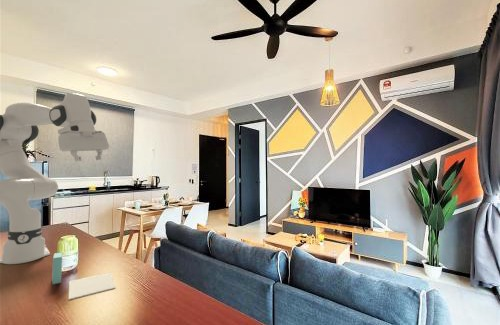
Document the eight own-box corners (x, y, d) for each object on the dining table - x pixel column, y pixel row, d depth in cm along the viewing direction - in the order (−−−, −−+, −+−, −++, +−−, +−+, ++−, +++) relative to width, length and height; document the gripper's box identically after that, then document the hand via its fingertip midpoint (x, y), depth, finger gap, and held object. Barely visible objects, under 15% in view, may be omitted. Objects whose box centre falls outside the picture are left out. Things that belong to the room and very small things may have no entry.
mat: (69, 282, 93) (69, 281, 93) (110, 273, 101) (110, 272, 101) (68, 300, 81) (68, 298, 81) (115, 288, 89) (115, 287, 89)
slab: (52, 278, 96) (53, 253, 96) (61, 276, 97) (62, 252, 98) (51, 284, 91) (52, 258, 91) (60, 282, 93) (61, 256, 93)
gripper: (99, 132, 116) (105, 160, 116) (53, 130, 97) (60, 163, 97) (108, 129, 114) (114, 157, 114) (63, 126, 95) (70, 160, 95)
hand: (89, 160), depth 105 cm, fingers open, 8 cm apart
